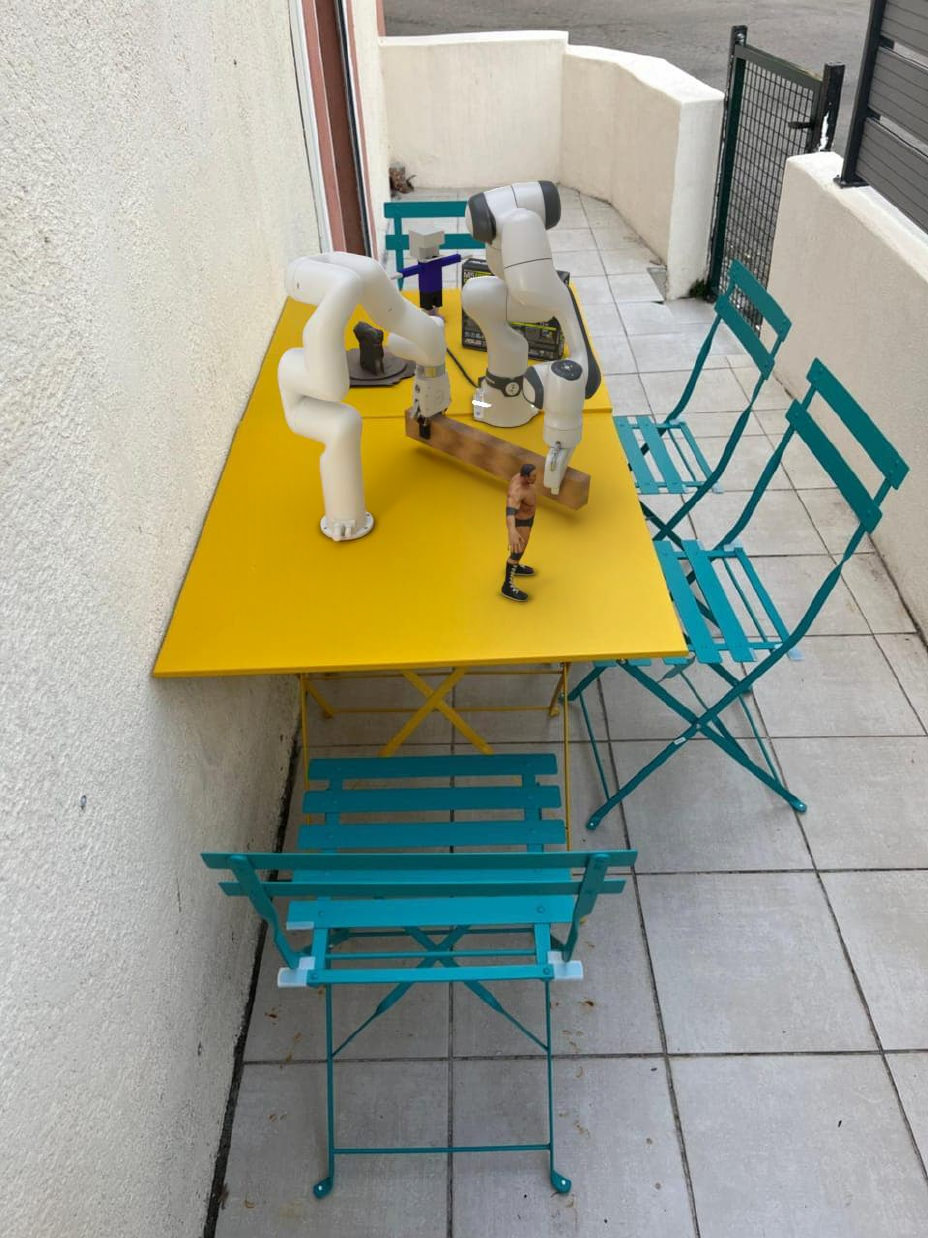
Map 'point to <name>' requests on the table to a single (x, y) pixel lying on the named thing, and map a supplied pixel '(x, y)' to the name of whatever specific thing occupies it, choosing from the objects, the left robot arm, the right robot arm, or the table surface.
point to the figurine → (519, 526)
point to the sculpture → (375, 359)
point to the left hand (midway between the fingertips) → (431, 433)
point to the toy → (428, 266)
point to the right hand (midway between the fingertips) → (558, 484)
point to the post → (497, 456)
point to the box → (540, 336)
